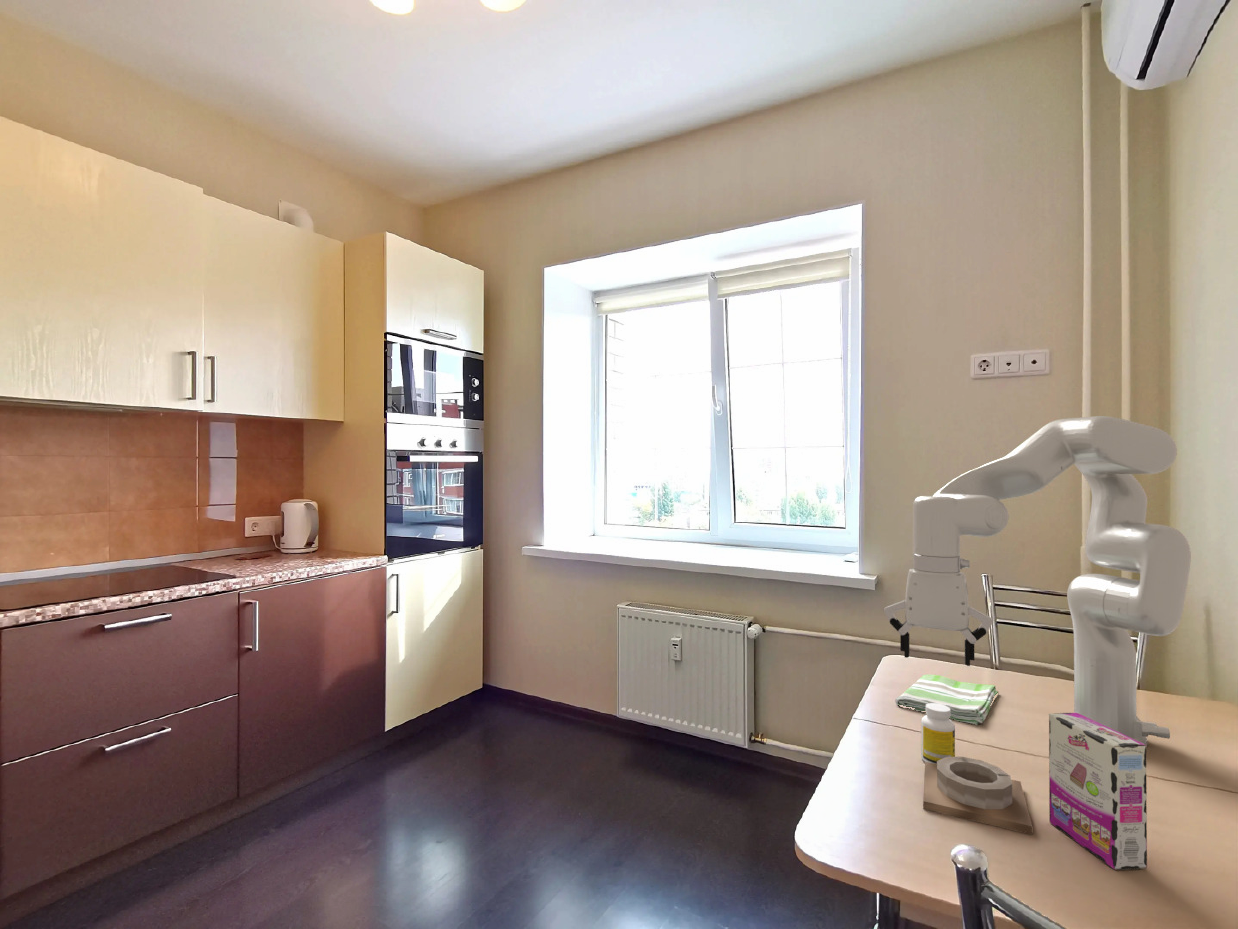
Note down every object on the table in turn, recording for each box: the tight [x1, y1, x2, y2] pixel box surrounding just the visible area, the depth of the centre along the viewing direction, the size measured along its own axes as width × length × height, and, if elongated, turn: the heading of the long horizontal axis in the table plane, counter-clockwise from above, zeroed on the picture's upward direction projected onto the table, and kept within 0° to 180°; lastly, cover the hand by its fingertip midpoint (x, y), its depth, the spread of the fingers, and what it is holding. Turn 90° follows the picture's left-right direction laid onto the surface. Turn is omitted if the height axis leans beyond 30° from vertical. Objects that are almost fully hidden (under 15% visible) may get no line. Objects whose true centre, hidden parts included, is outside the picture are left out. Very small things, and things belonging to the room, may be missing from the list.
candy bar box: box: [1048, 712, 1148, 871], centre depth 84 cm, size 11×5×16 cm, turn 5°
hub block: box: [922, 756, 1033, 835], centre depth 96 cm, size 14×14×4 cm
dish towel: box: [894, 674, 999, 726], centre depth 137 cm, size 17×23×4 cm
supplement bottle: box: [920, 703, 956, 764], centre depth 108 cm, size 5×5×10 cm
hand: (936, 659), depth 108 cm, fingers open, 9 cm apart
